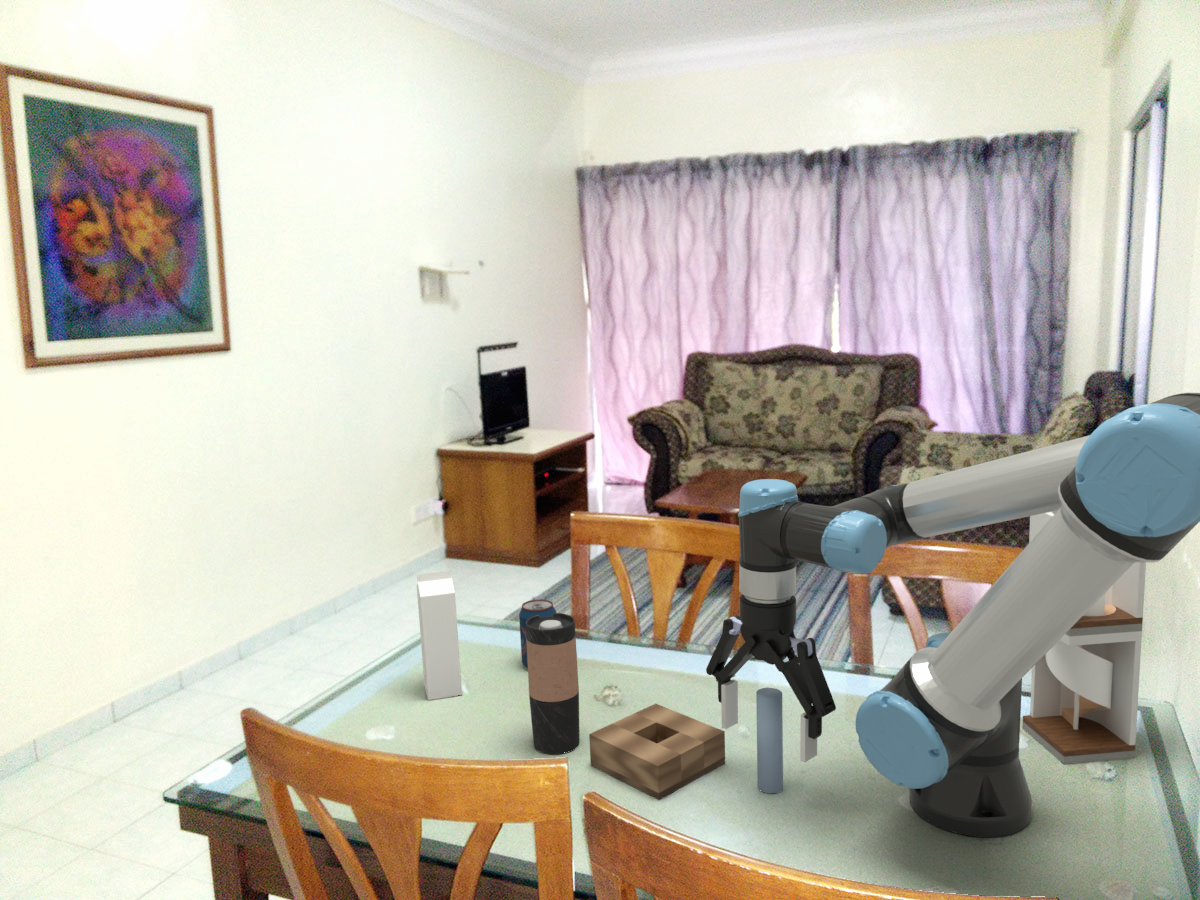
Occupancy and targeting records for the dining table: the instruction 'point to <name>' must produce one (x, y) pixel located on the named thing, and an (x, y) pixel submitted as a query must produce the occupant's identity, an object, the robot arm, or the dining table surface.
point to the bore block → (657, 750)
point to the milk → (439, 634)
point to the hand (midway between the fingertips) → (767, 741)
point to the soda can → (529, 610)
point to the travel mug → (553, 682)
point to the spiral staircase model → (1091, 676)
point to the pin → (769, 740)
